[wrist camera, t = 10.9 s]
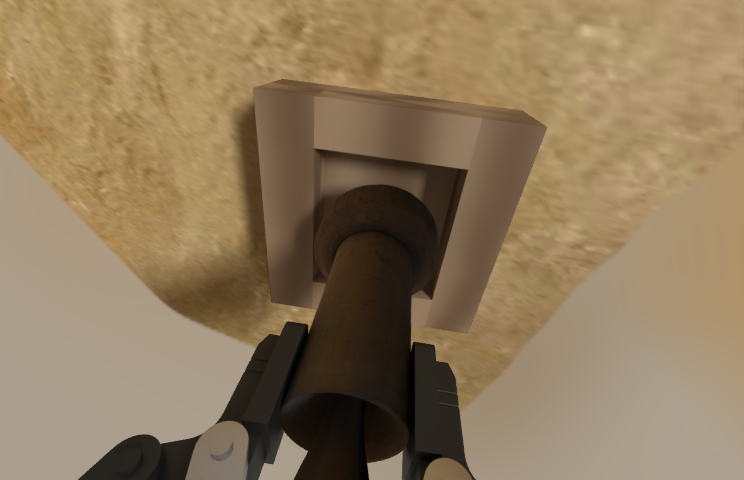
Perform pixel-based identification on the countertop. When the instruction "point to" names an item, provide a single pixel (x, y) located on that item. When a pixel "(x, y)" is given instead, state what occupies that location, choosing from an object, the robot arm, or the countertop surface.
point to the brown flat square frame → (391, 182)
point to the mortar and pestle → (361, 333)
